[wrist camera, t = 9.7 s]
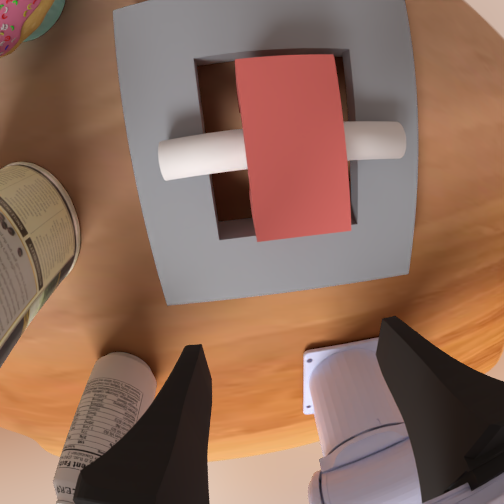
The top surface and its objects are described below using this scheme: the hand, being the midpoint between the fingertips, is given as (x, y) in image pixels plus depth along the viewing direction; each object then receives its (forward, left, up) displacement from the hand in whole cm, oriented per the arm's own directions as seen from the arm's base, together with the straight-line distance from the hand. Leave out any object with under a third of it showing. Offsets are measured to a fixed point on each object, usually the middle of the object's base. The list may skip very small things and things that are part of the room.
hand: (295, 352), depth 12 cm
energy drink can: (-11, +14, -11) cm, 21 cm away
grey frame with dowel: (+7, -1, -10) cm, 12 cm away
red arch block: (+6, -1, -9) cm, 11 cm away
